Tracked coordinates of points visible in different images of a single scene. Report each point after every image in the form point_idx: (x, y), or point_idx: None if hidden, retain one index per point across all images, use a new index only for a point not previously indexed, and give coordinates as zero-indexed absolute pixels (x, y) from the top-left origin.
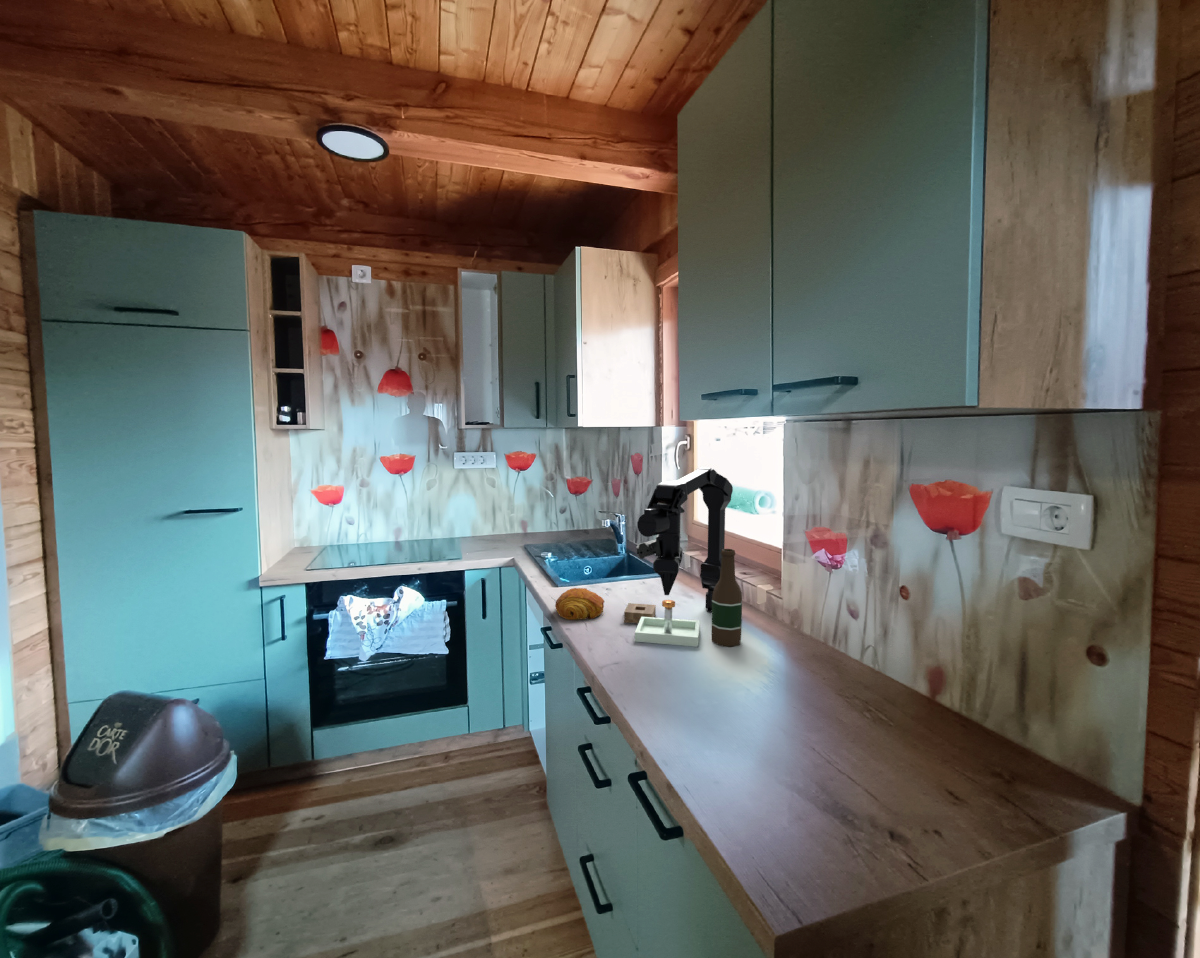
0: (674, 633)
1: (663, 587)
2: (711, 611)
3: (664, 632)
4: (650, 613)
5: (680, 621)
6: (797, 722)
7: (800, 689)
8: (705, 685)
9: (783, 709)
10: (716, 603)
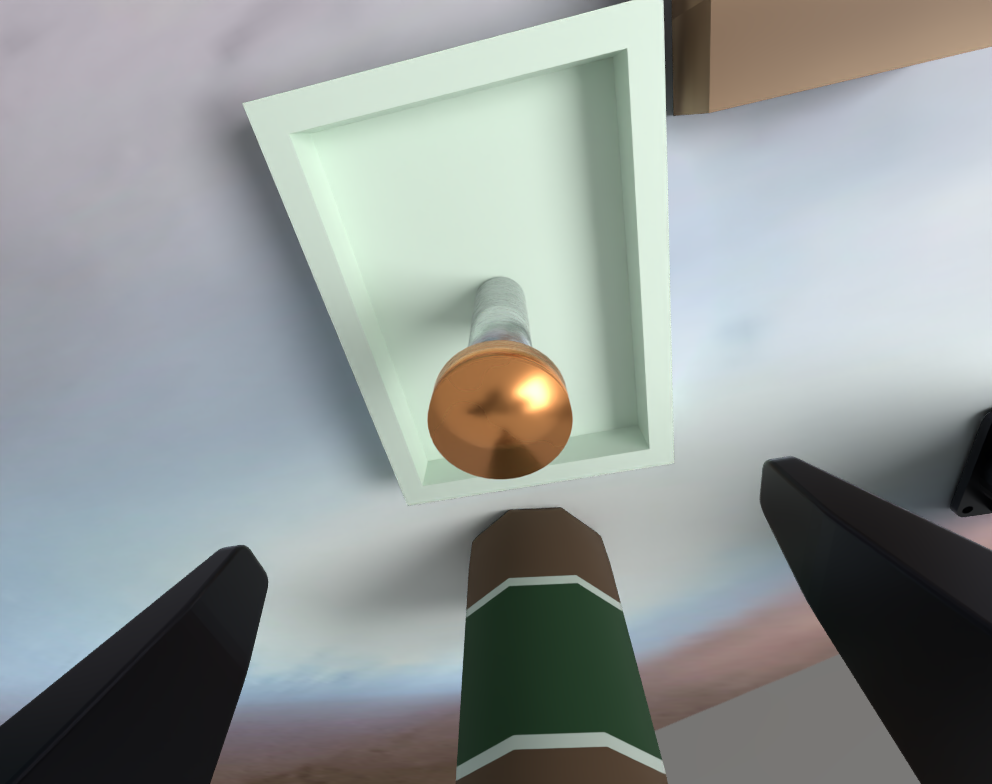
0: None
1: (92, 661)
2: (979, 434)
3: (483, 284)
4: (722, 85)
5: (643, 361)
6: None
7: (274, 723)
8: (85, 558)
9: None
10: (475, 757)
